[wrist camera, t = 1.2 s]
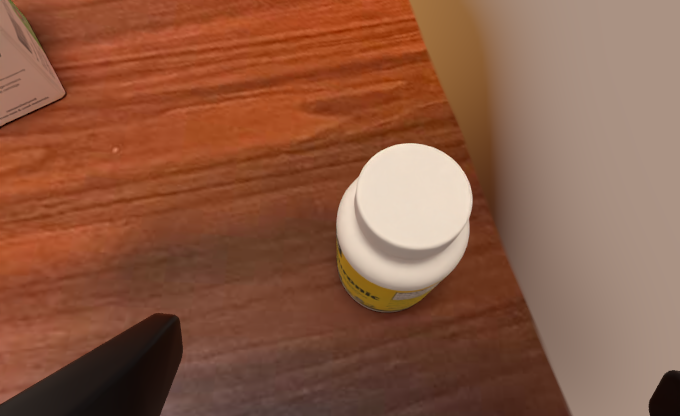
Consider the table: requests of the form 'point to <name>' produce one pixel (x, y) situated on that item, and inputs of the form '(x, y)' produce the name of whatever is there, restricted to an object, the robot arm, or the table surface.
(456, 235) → the supplement bottle
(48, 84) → the ink box
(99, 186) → the table surface
